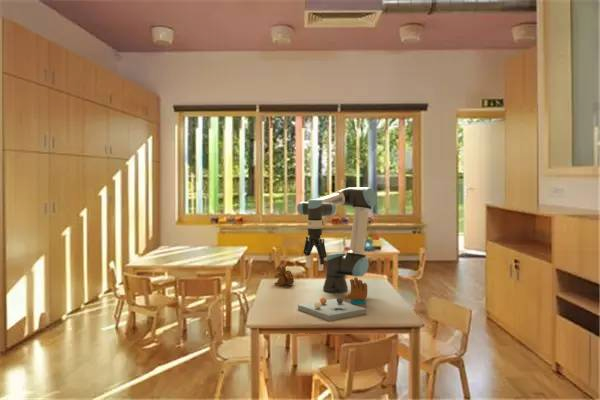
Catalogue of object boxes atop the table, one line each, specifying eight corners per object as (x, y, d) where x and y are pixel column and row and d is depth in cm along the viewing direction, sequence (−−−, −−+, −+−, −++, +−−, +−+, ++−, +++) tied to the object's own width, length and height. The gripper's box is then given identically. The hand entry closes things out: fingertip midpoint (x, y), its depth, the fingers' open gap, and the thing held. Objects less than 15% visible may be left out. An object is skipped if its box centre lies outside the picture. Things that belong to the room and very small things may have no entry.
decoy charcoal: (335, 303, 264) (335, 296, 264) (340, 302, 266) (340, 295, 266) (339, 304, 261) (339, 297, 261) (344, 303, 263) (344, 297, 263)
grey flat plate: (298, 309, 261) (298, 304, 261) (333, 303, 274) (334, 298, 274) (328, 320, 239) (328, 315, 239) (366, 313, 253) (366, 308, 253)
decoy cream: (313, 308, 253) (313, 301, 253) (318, 307, 255) (318, 300, 255) (317, 309, 251) (317, 302, 250) (322, 308, 253) (322, 301, 252)
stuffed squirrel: (280, 282, 333) (281, 262, 332) (298, 284, 325) (298, 264, 324) (271, 284, 325) (271, 264, 324) (289, 287, 317) (289, 266, 316)
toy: (343, 304, 273) (344, 276, 272) (347, 301, 280) (347, 274, 279) (365, 305, 269) (365, 278, 269) (368, 303, 276) (368, 276, 275)
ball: (318, 303, 263) (318, 297, 263) (323, 302, 265) (323, 296, 265) (322, 305, 260) (322, 298, 260) (327, 304, 262) (328, 297, 262)
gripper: (297, 226, 275) (296, 266, 276) (322, 230, 256) (322, 272, 257) (308, 226, 279) (307, 265, 280) (333, 229, 260) (333, 271, 261)
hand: (314, 268), depth 268 cm, fingers open, 10 cm apart
